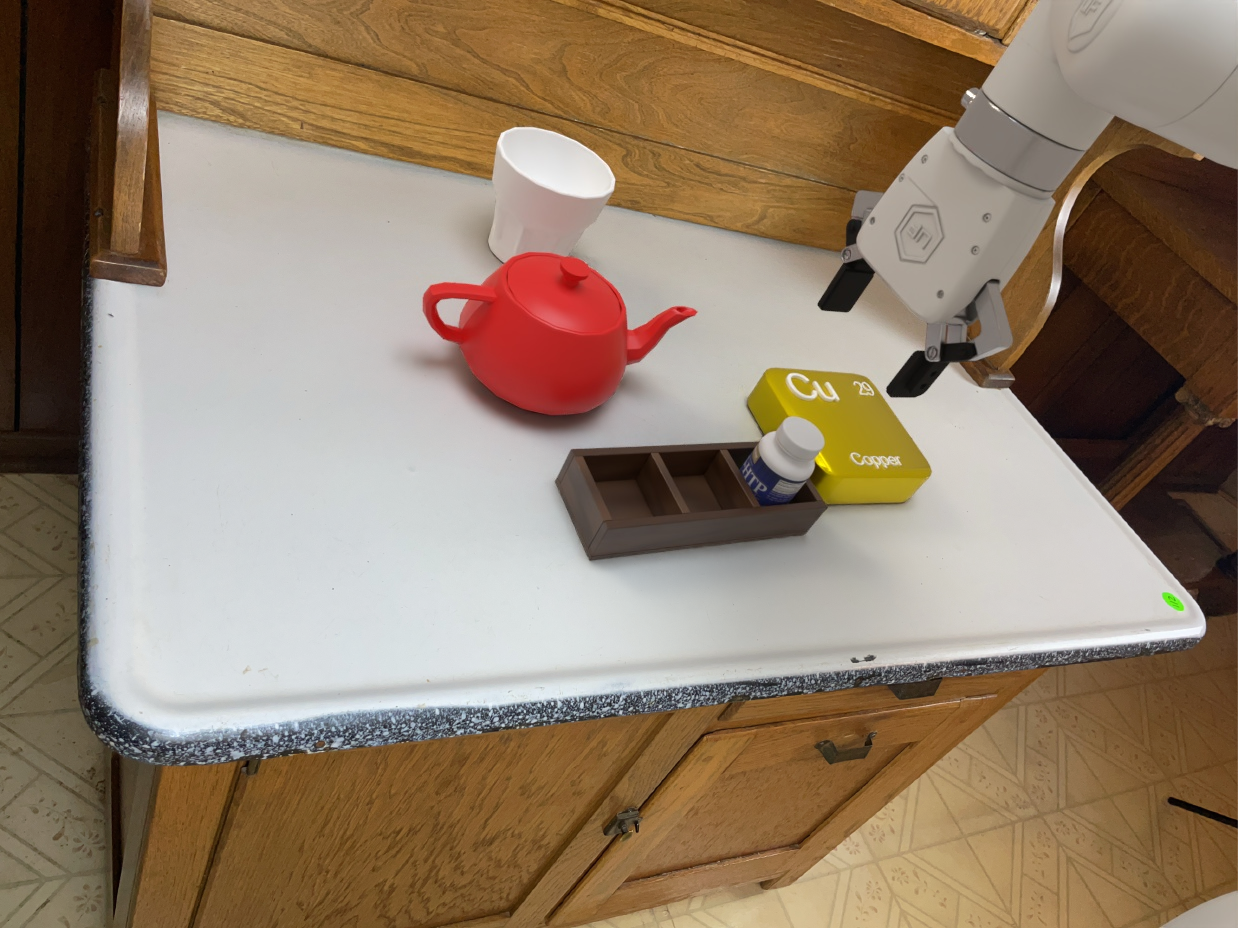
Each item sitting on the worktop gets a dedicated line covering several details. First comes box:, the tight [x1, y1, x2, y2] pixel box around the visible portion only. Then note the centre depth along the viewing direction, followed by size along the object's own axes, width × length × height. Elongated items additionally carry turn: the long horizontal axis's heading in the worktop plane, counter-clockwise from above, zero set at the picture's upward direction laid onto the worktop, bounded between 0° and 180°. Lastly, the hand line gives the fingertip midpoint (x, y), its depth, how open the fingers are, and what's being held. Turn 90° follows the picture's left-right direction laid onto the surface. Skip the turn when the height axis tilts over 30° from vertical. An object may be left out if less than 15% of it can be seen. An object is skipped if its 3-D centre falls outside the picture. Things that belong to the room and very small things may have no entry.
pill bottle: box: [739, 417, 825, 507], centre depth 75 cm, size 5×5×9 cm
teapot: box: [422, 252, 698, 417], centre depth 76 cm, size 25×16×12 cm, turn 107°
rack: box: [554, 440, 829, 561], centre depth 73 cm, size 8×23×4 cm, turn 114°
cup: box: [487, 126, 616, 264], centre depth 89 cm, size 12×12×11 cm
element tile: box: [747, 366, 933, 505], centre depth 87 cm, size 15×15×5 cm
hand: (865, 350), depth 65 cm, fingers open, 9 cm apart
